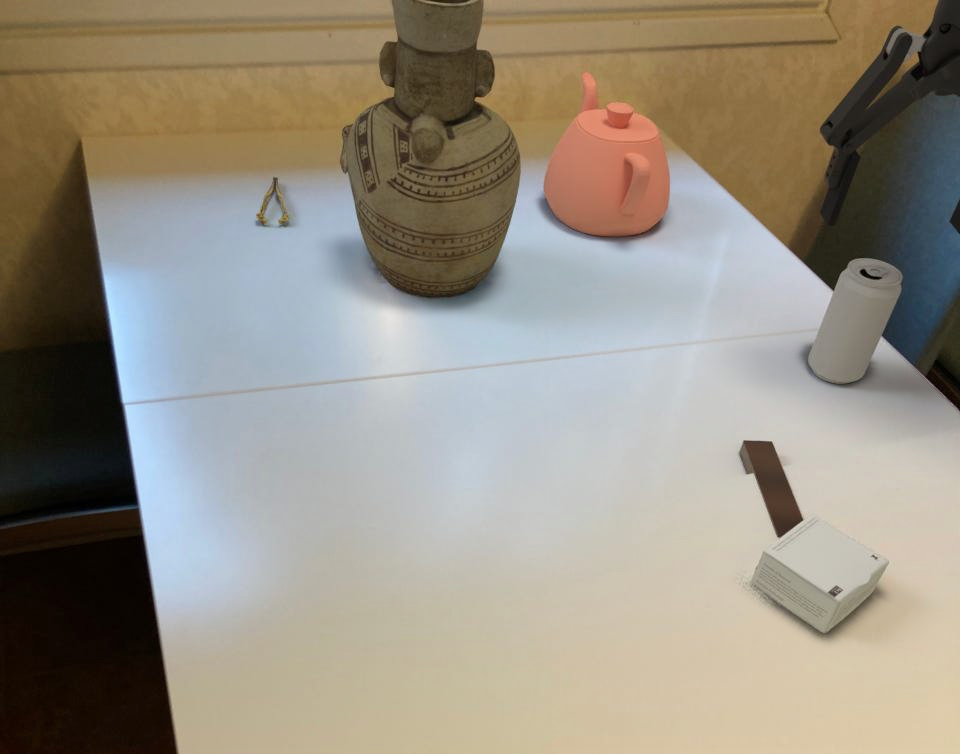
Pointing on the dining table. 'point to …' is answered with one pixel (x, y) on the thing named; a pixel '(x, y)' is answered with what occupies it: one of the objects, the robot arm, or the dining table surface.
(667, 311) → the dining table surface
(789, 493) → the walnut slat
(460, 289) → the ceramic vessel
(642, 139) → the teapot
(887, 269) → the beverage can
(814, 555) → the small box
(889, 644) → the dining table surface
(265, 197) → the tongs
